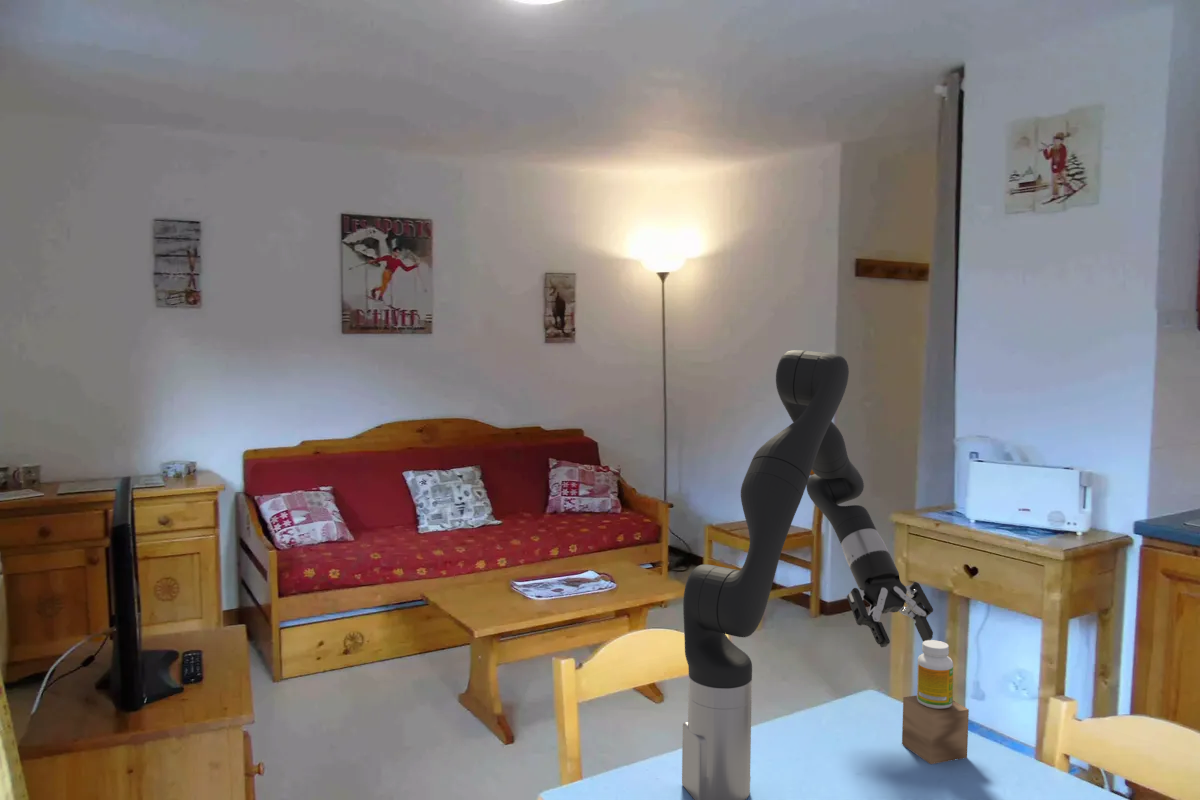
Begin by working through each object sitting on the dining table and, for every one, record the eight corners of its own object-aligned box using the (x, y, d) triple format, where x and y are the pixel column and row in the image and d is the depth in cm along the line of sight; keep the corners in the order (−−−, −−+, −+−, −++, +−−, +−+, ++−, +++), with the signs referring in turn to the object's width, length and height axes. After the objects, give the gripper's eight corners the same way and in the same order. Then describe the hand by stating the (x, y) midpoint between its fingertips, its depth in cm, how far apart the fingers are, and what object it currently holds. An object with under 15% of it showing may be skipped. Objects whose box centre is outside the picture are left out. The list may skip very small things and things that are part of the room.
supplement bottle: (955, 711, 133) (956, 651, 133) (919, 708, 135) (920, 648, 134) (949, 697, 139) (950, 639, 138) (914, 694, 140) (915, 637, 139)
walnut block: (930, 764, 133) (932, 715, 132) (902, 744, 139) (903, 697, 139) (967, 758, 135) (968, 709, 134) (937, 738, 141) (938, 692, 141)
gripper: (843, 551, 149) (881, 637, 139) (912, 546, 153) (953, 628, 143) (826, 573, 154) (861, 657, 144) (893, 567, 158) (932, 648, 148)
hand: (907, 642), depth 143 cm, fingers open, 8 cm apart
